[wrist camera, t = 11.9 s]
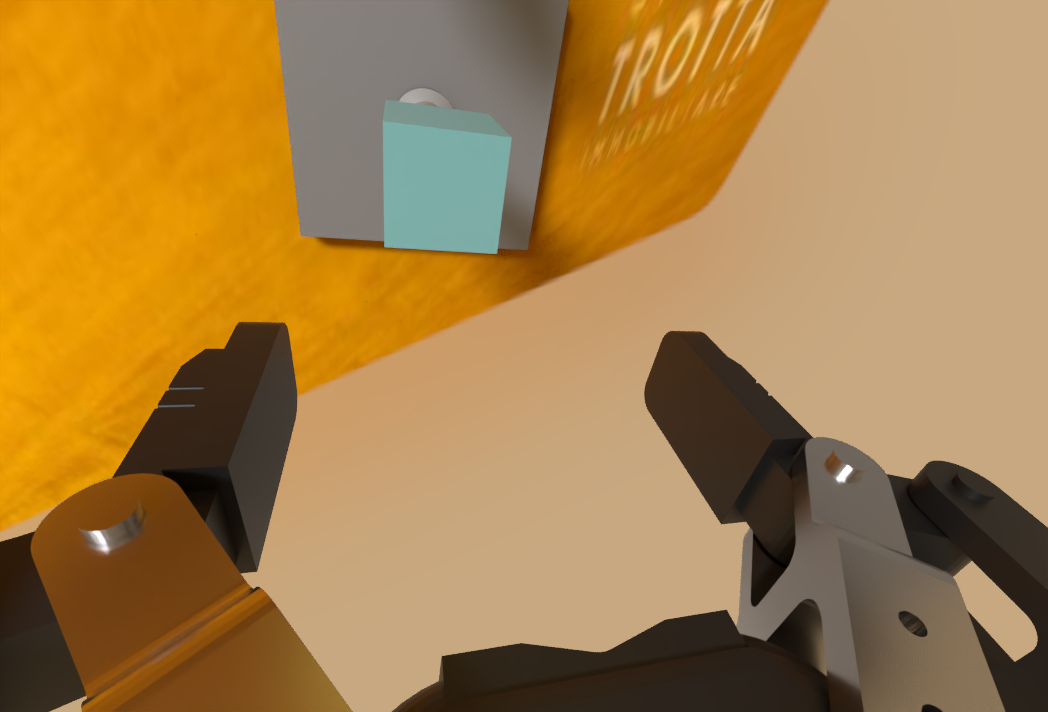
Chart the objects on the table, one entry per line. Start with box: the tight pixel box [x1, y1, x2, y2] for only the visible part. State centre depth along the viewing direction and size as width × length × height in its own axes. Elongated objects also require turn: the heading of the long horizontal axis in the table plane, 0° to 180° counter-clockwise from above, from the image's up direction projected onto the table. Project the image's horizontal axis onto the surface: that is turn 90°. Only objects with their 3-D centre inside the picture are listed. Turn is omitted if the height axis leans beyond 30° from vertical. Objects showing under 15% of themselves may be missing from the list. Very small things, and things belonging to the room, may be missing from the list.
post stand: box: [274, 0, 569, 250], centre depth 28 cm, size 18×18×18 cm
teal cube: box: [383, 100, 512, 254], centre depth 22 cm, size 5×5×6 cm
